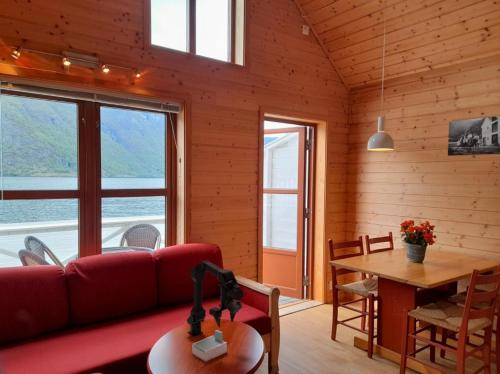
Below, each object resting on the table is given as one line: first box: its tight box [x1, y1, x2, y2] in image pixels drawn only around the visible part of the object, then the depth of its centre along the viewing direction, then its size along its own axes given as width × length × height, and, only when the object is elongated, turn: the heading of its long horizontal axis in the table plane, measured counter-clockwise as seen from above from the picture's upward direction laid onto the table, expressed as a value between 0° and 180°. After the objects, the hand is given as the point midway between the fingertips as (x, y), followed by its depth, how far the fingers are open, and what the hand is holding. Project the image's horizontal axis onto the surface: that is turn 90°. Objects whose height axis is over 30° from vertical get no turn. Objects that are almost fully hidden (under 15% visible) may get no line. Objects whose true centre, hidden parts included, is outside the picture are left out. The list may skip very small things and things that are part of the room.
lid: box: [194, 329, 225, 352], centre depth 181 cm, size 9×14×5 cm, turn 136°
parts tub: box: [191, 335, 228, 363], centre depth 182 cm, size 11×14×5 cm
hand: (225, 324), depth 185 cm, fingers open, 9 cm apart
